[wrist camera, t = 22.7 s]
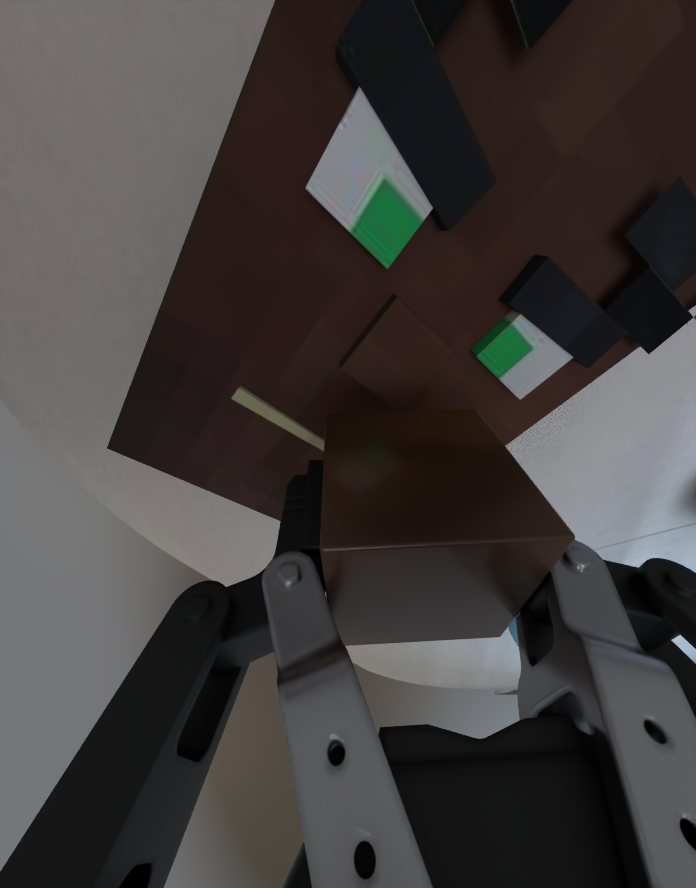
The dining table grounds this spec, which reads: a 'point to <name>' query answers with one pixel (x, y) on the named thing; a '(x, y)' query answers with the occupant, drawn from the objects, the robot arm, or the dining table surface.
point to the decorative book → (423, 228)
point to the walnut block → (429, 528)
